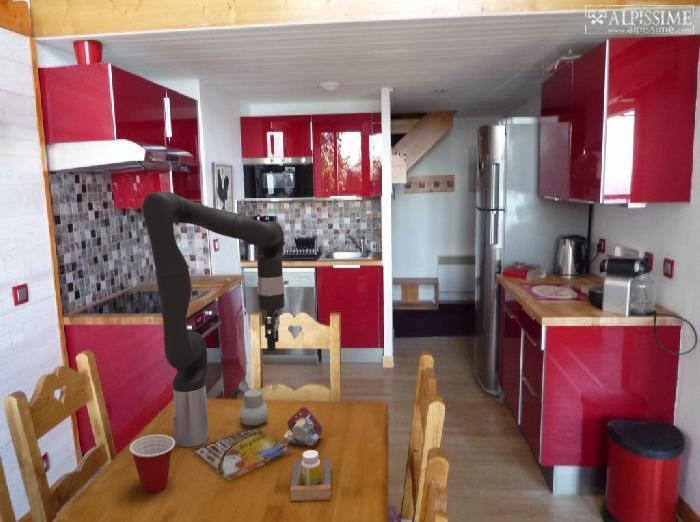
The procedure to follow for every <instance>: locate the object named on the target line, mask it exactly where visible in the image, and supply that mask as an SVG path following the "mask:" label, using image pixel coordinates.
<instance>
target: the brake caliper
mask: <svg viewBox="0 0 700 522" xmlns="http://www.w3.org/2000/svg"><path fill="white" fill-rule="evenodd" d="M296 421H297V422H296ZM312 425H313V426H312ZM287 427H288V430H287V431H286V432H285V434H284V435H283V437H282V438H283V440H286V442H284V445H285V446H287V447H288V446H289V445H290V444H291V445H300V446H308V447H313V446H316V443H317V441H318V440H319V439H320V438H321V435H322V433H323V431H324V430H323V425H322V424H321V422H320V421H319V420H318V419H317V417H316V416H315V415H314V413H312V411H311V410H310V409H309V408H308V406H306V405H302V406H301V407H300V408H299V409H298V410H297V411H296V412H295V413H293V415H291V416H290V417H289V419H288V420H287ZM284 445H283V446H284Z"/></svg>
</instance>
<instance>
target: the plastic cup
mask: <svg viewBox="0 0 700 522" xmlns="http://www.w3.org/2000/svg"><path fill="white" fill-rule="evenodd" d="M175 446H176V445H175V439H174V438H173V437H172V436H170V435H167V434H149V435H145V436H142V437H139V438H137V439H135V440H134V441H133V442H131V444H130V445H129V451H130V452H131V454H132V455H131V456H132V458H133V461H134V464H135V467H136V471H137V474H138V479H139V481H140V485H141V488H142V490H143V492H144V493H146V494H155V493H159V492H161V491H163V490H165V489H166V487H167V485H168V479H169V472H170V464H171V463H170V462H171V456H172V452H173V449H174V447H175Z"/></svg>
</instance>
